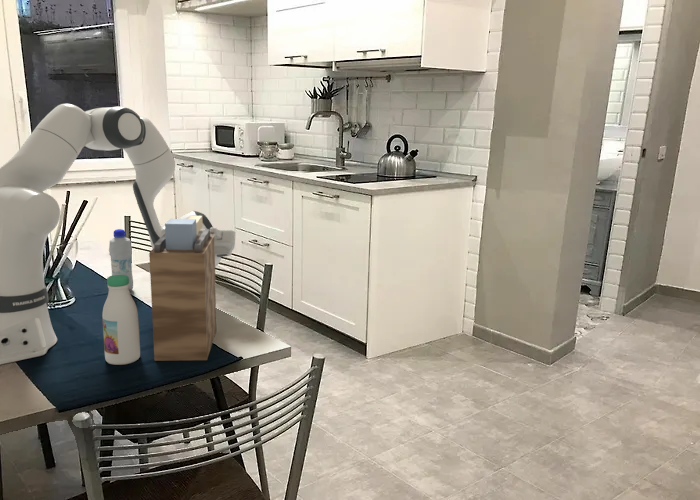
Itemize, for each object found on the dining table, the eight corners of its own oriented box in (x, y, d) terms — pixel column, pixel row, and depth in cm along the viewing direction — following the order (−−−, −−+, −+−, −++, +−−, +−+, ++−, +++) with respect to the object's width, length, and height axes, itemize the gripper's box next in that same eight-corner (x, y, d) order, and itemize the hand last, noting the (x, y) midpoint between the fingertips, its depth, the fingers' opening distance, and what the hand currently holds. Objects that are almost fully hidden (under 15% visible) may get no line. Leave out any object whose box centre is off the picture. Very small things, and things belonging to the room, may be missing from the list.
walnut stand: (206, 360, 137) (204, 245, 130) (154, 360, 135) (148, 244, 129) (216, 331, 154) (214, 228, 147) (169, 331, 153) (165, 228, 146)
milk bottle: (138, 349, 141) (133, 270, 136) (142, 362, 134) (138, 279, 129) (103, 354, 137) (97, 274, 133) (106, 368, 131) (100, 283, 126)
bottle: (107, 291, 182) (103, 229, 178) (127, 286, 187) (124, 226, 183) (118, 296, 178) (114, 232, 173) (138, 291, 183) (135, 229, 178)
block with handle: (192, 249, 133) (192, 224, 132) (165, 249, 132) (164, 223, 131) (208, 226, 158) (207, 204, 157) (185, 226, 157) (184, 204, 156)
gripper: (166, 233, 169) (156, 218, 156) (237, 235, 171) (233, 219, 158) (164, 254, 167) (154, 240, 154) (236, 255, 169) (232, 241, 156)
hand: (195, 229), depth 156 cm, fingers open, 8 cm apart
